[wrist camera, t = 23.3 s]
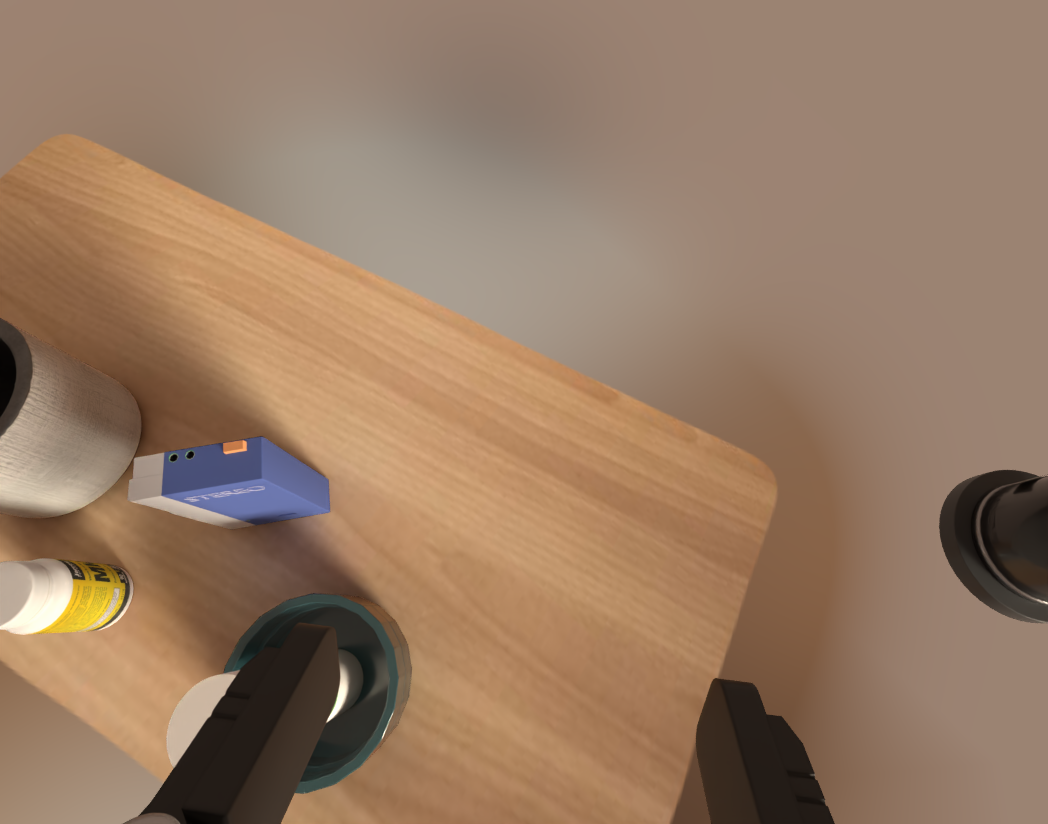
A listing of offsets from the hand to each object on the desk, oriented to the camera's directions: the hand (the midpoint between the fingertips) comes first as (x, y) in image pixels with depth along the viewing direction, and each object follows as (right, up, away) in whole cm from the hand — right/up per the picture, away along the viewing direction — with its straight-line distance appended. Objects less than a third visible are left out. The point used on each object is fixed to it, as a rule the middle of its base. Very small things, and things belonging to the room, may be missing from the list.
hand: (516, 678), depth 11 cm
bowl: (-13, -13, +27) cm, 33 cm away
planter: (-38, +3, +33) cm, 50 cm away
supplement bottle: (-32, -8, +29) cm, 44 cm away
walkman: (-19, -2, +31) cm, 37 cm away
